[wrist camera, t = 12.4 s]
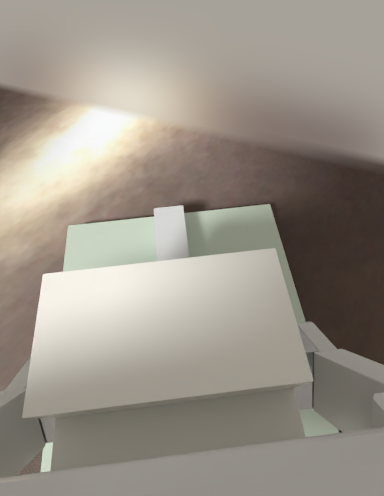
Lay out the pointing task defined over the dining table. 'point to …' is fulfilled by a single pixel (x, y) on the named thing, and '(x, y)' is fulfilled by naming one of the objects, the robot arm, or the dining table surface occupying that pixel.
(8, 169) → the dining table surface
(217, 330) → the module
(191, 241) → the rail board
